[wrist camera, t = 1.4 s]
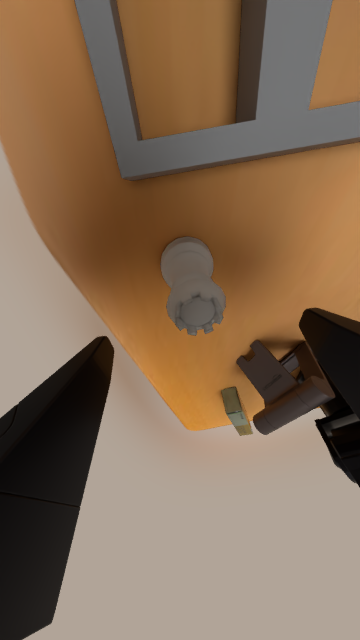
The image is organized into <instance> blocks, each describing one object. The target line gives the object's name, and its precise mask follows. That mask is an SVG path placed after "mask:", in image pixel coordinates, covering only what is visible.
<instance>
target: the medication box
mask: <svg viewBox="0 0 360 640" xmlns="http://www.w3.org/2000/svg"><path fill="white" fill-rule="evenodd" d="M221 392H222V397H223V401H224V406H225V411H226V414H227V416H228V417H229V419H230V421H231V422H232V424H233V425H234V427H235V428H236V430H237V432H238V433H239V435H240V436H242V435H249V434H253V432H252V429H251V425H250V422H249V419H248V416H247V412H246V410H245V407H244V405H243V403H242V400H241V398H240V395H239V393H238V391H237V388H236V387H231V388H227V389H224V390H221Z"/></svg>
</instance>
